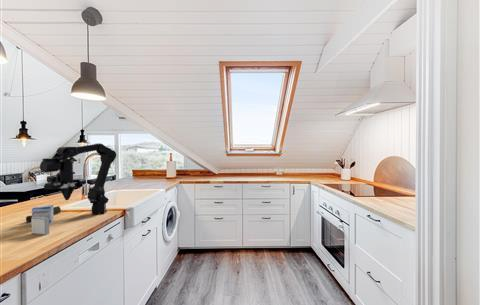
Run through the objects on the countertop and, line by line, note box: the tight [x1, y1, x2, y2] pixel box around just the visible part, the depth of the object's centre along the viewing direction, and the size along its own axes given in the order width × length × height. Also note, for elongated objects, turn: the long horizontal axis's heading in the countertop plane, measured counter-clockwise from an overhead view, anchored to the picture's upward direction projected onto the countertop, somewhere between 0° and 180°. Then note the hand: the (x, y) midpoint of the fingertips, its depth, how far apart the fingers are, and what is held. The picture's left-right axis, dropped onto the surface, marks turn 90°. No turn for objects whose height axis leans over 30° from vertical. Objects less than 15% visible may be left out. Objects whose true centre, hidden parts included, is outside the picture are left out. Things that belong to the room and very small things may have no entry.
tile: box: [30, 217, 50, 236], centre depth 101 cm, size 2×8×8 cm, turn 79°
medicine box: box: [31, 204, 55, 224], centre depth 117 cm, size 8×4×9 cm, turn 117°
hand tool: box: [25, 205, 62, 224], centre depth 127 cm, size 19×4×5 cm, turn 173°
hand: (67, 200), depth 116 cm, fingers closed
